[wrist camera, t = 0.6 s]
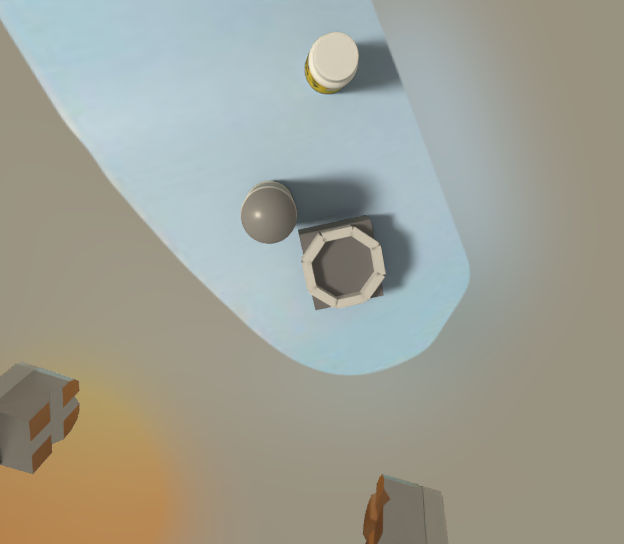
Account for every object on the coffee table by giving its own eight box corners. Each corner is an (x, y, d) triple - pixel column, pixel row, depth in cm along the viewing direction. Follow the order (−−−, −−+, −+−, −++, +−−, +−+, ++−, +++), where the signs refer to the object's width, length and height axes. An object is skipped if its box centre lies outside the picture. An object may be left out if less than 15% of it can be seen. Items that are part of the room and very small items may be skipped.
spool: (240, 186, 50) (233, 194, 42) (288, 175, 50) (290, 182, 42) (252, 232, 52) (247, 249, 43) (298, 222, 52) (302, 238, 43)
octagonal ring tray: (294, 230, 52) (296, 237, 48) (368, 214, 52) (376, 220, 48) (310, 302, 55) (313, 314, 51) (381, 286, 55) (389, 297, 51)
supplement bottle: (299, 52, 47) (303, 33, 39) (342, 40, 47) (356, 19, 39) (310, 100, 48) (317, 91, 40) (353, 88, 48) (368, 77, 40)
